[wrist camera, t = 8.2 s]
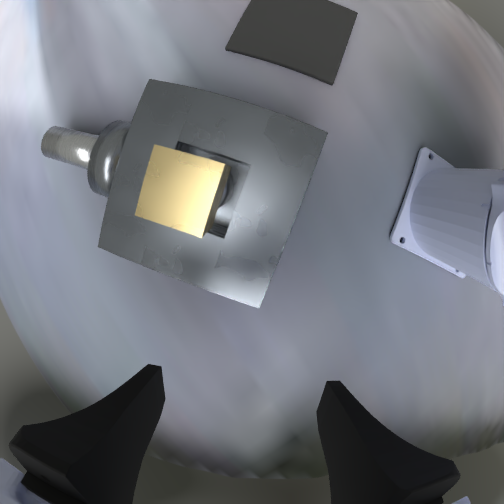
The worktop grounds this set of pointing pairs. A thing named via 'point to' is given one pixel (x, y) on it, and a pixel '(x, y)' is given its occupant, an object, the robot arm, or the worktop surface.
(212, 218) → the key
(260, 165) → the chuck
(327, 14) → the mat
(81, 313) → the worktop surface
